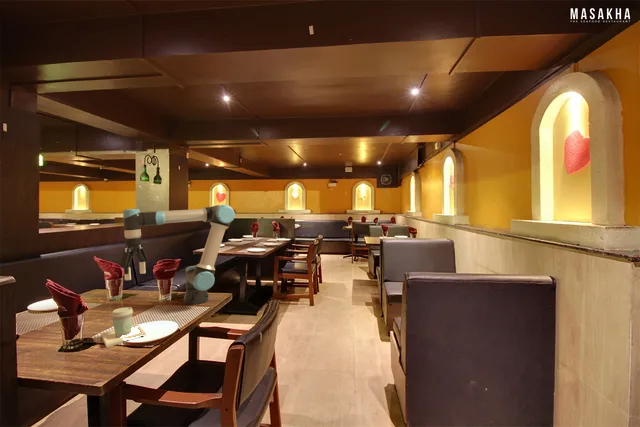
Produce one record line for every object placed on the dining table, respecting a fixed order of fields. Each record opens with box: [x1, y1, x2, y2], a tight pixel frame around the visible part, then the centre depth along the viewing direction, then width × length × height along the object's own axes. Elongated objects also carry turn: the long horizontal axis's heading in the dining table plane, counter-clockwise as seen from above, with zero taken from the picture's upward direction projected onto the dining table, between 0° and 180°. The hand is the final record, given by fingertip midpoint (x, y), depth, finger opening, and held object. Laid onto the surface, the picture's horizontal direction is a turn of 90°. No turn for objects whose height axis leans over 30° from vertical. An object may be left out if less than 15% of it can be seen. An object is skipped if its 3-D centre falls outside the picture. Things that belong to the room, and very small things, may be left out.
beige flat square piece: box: [100, 323, 146, 348], centre depth 135 cm, size 15×15×2 cm
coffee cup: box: [110, 306, 134, 338], centre depth 135 cm, size 8×8×12 cm
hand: (135, 276), depth 155 cm, fingers open, 13 cm apart
